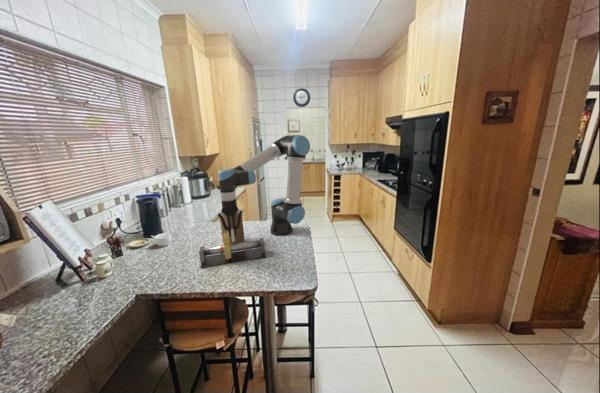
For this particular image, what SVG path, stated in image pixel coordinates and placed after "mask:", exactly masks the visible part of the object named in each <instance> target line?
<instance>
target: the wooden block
mask: <svg viewBox="0 0 600 393" xmlns="http://www.w3.org/2000/svg"><path fill="white" fill-rule="evenodd" d="M222 214H223V213H222ZM242 214H243V213H242ZM242 214H241V218H240V225H239V228H238V229H236V235H234V236H235V242H232V237H231V236H230V244H237V243H244V242H245V232H244V224H243V223H244V222H243V215H242ZM234 217H235V226H237V220H238V211H237V213H236V214H235V216H234ZM223 218H224V220H225V223H226V225H227V227H228V222H227V216H225V215H224V214H223ZM219 221H220V222H219V224H220V229H221V230H220V231H221V238H222V239H223V233H228V232H229V231H228V230H225V229H224V226H223V224H222V221H221V219H220V218H219ZM230 226H231V229H233V221H232V216H230ZM222 243H223V244H222V245H224V242H223V241H222Z"/></svg>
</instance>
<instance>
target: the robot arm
mask: <svg viewBox="0 0 600 393" xmlns="http://www.w3.org/2000/svg"><path fill="white" fill-rule="evenodd" d="M310 150H311V144H310V141H309V139H308V138H307V136H305V135H300V134H296V135H295V134H293V135H290V134H289V135H288V134H287V135H285V136H282V137H280V138H279V139H277V140H276V141H274V142H272V143H271V144H270V146H268V147H267V148H265V149H264V150H262V151H260V152H259V153H257V154H256V155H254V156H252V157H251V158H248V159H247V160H246V161H244V162H242V163H241V164H239V165H238V166H236V167H234V168H225V169H220V170H218V173H217V174H218V175H217V180H218V183H219V184H218V185H219V190H220V191H219V194H220V199H221V211H220V212H218V213H217V216H218V217H219V220H220V219H221V221H222V224H223V226H224V229H225V230H228V231H229V236H231V237H232V242H235V236H234V235H236V229H238V228H239V225H240V218H241V214H243V210H242V209H239V207H238V204H237V203H238V202H237V195H236V193H237V192H236V188H238V187H243V186H250V185H253V184H255V183H256V181H257V176H256V173H255V171H257V170H258V169H260V168H261V167H263V166H264V165H266V164H267V163H269V162H271V161H272V160H274V159H275V158H280V157H282V156H284V155H286V158H287V160H288V166H287V167H288V168H287V181H286V183H287V185H286V186H287V187H286V198H285V197H282V198H276V199H273V200H271V201H270V208H271V225H270V230H269V231H270V234H271V235H273V236H287V235H290V234H291V233H292V232H293V226H292V224H294V225H296V224H299V223H301V222H302V221H303V220H304V218H305V215H306V211H305V208H304V207H303V201H302V200H301V191H302V190H301V189H302V177H303V175H302V174H303V162H304V161H305V160H306V156H307V155H308V154H309V152H310ZM237 212H238V220H237V226H235V217H234V216H235V214H236V213H237ZM222 213H223V214H224V215H225V216H227V222H228V227H227V225H226V223H225V220H224V218H223V214H222ZM230 216H232V221H233V229H231V226H230Z"/></svg>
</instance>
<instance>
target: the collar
mask: <svg viewBox="0 0 600 393" xmlns="http://www.w3.org/2000/svg"><path fill="white" fill-rule="evenodd" d="M223 242H224V244H223V245H224V251H225V258H226V259H231V249H230V236H229V232H228V233H223V238H222V243H223Z"/></svg>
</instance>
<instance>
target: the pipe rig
mask: <svg viewBox="0 0 600 393" xmlns="http://www.w3.org/2000/svg"><path fill="white" fill-rule="evenodd" d="M230 249H231V259H226V258H225V251H224V244H222V245H221V244H220V245H217V246H211V247H210V246H209V247H205V246H200V247H199V251H198V253H199V260H200V269H205V268H212V267H218V266H223V265H224V266H225V265H230V264H236V262H237V263H243V262H247V261H248V262H249V261H253V260H261V259H266V258H267V254H266V244H265V240H264V237H260V238H259V240H252V241H246V242H245V241H244V242H243V243H237V244H230Z"/></svg>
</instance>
